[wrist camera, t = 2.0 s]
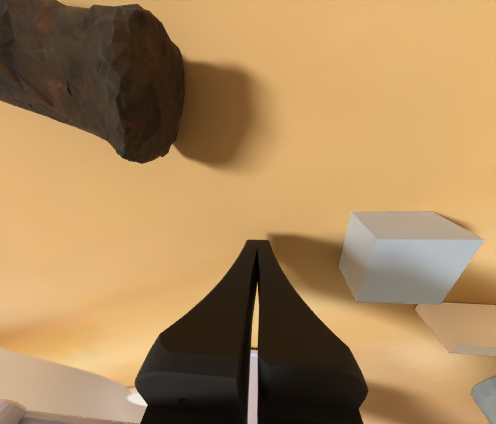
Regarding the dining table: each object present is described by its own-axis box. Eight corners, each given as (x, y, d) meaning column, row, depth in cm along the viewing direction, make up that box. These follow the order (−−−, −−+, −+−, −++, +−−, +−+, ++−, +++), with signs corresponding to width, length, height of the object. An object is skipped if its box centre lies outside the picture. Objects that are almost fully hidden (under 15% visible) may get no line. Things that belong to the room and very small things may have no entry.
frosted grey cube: (403, 266, 13) (440, 304, 10) (337, 264, 13) (355, 301, 10) (429, 209, 11) (484, 239, 8) (350, 210, 11) (377, 239, 8)
